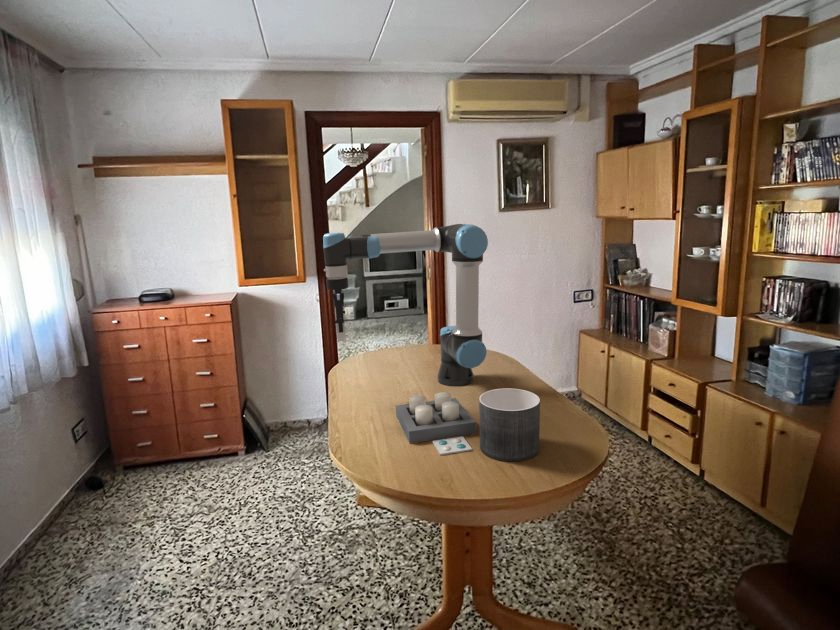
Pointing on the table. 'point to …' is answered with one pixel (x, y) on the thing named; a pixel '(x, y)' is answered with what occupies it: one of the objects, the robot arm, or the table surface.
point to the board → (434, 424)
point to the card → (451, 445)
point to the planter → (509, 424)
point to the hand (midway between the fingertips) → (341, 336)
